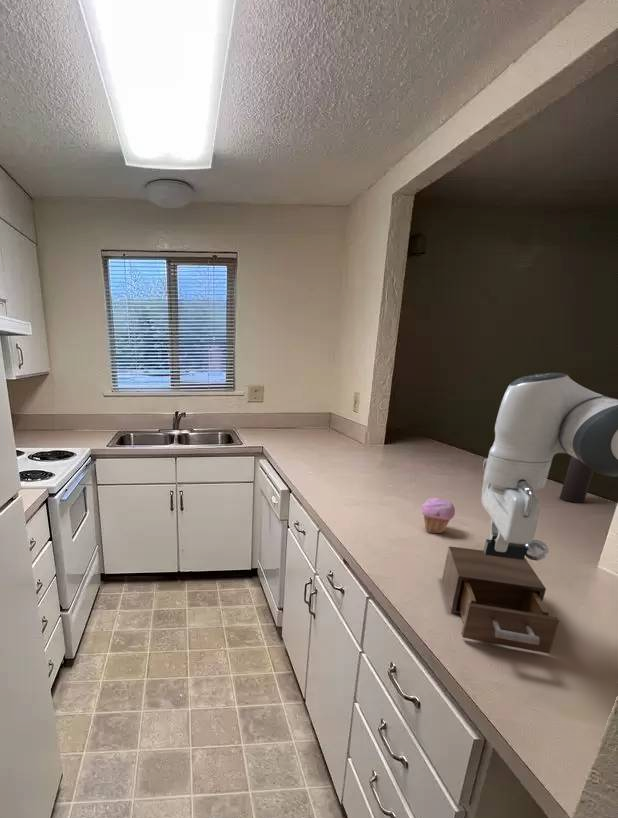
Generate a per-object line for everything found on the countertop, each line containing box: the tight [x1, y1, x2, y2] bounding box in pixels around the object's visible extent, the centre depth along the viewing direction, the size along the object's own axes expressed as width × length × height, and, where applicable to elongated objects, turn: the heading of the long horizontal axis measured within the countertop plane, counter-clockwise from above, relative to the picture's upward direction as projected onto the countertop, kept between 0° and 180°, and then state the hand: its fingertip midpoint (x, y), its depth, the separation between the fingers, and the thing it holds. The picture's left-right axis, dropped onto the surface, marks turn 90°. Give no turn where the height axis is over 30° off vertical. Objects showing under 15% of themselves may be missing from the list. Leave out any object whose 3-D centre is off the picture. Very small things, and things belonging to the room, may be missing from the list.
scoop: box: [483, 538, 549, 561], centre depth 77 cm, size 4×9×4 cm, turn 70°
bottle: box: [559, 456, 594, 504], centre depth 148 cm, size 7×7×20 cm
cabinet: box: [441, 545, 547, 616], centre depth 91 cm, size 15×15×9 cm
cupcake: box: [420, 497, 456, 534], centre depth 126 cm, size 9×9×10 cm
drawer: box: [457, 580, 560, 654], centre depth 80 cm, size 18×13×7 cm
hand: (497, 546), depth 78 cm, fingers closed on scoop, 2 cm apart
